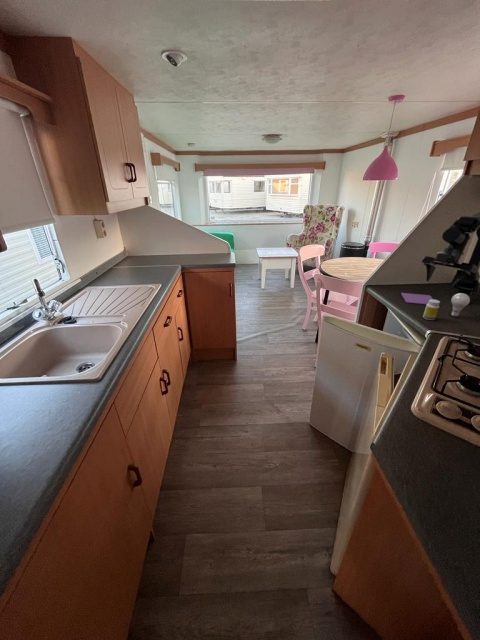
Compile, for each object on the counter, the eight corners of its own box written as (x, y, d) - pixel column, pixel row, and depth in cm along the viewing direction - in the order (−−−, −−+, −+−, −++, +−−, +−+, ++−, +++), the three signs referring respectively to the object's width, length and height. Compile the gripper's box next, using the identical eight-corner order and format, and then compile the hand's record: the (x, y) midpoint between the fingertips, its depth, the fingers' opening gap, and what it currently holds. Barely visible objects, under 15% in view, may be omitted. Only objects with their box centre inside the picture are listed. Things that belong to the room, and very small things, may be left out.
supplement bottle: (437, 320, 117) (443, 303, 113) (425, 320, 118) (430, 302, 114) (432, 316, 121) (438, 299, 117) (420, 315, 122) (426, 298, 118)
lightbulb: (455, 313, 124) (464, 290, 119) (466, 319, 118) (476, 296, 113) (442, 313, 124) (450, 291, 119) (452, 319, 118) (461, 296, 113)
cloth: (400, 293, 148) (401, 292, 147) (429, 296, 143) (430, 295, 143) (406, 302, 136) (406, 301, 136) (437, 305, 132) (438, 305, 131)
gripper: (424, 240, 113) (408, 275, 117) (476, 246, 98) (456, 286, 102) (434, 246, 119) (419, 279, 123) (485, 253, 104) (466, 291, 108)
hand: (438, 283), depth 114 cm, fingers open, 9 cm apart
